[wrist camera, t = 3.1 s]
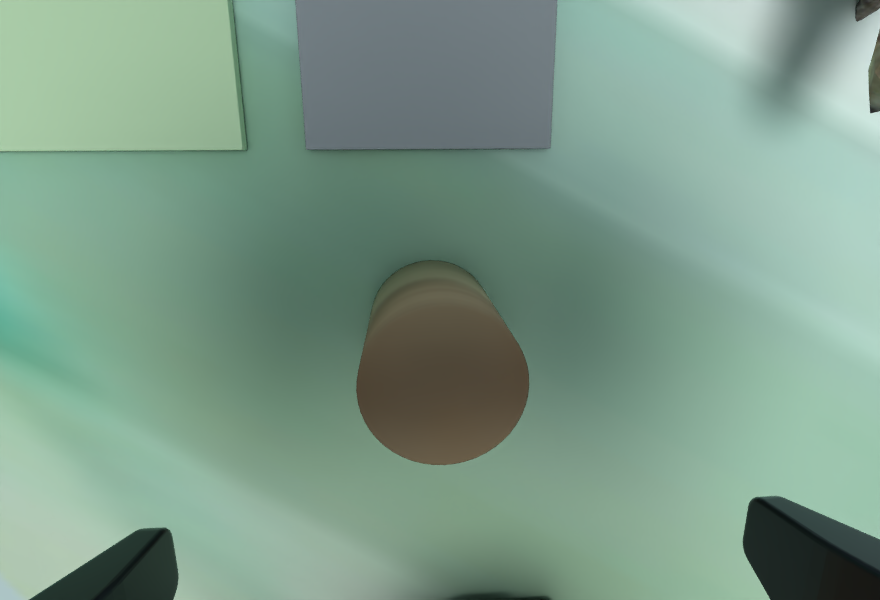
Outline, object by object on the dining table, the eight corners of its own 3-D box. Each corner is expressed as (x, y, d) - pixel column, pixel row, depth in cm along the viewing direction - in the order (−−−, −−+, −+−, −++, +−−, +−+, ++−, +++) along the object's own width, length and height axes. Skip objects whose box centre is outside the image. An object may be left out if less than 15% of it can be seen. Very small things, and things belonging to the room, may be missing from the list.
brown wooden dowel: (489, 373, 19) (525, 461, 14) (373, 376, 19) (360, 468, 13) (491, 259, 18) (532, 302, 13) (368, 261, 18) (352, 307, 12)
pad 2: (546, 148, 17) (550, 148, 17) (308, 149, 17) (306, 149, 16) (558, -128, 15) (563, -138, 15) (288, -137, 15) (284, -147, 14)
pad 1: (247, 150, 17) (242, 149, 16) (-9, 151, 16) (-23, 150, 16) (218, -139, 15) (211, -149, 14) (-77, -148, 14) (-93, -159, 14)
